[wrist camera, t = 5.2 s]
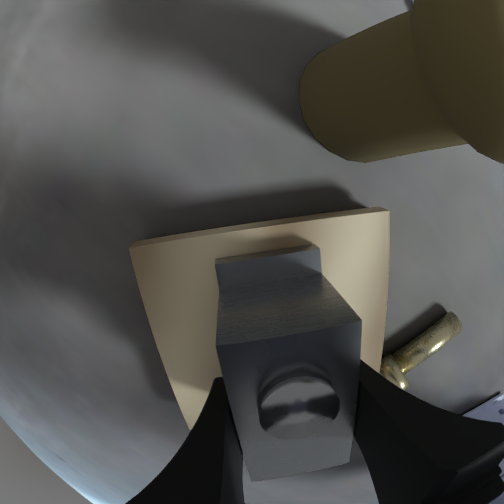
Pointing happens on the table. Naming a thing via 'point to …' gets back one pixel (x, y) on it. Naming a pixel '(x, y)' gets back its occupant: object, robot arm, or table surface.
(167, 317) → the stand
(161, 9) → the table surface
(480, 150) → the cork
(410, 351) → the loose bolt
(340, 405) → the housing
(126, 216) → the table surface
